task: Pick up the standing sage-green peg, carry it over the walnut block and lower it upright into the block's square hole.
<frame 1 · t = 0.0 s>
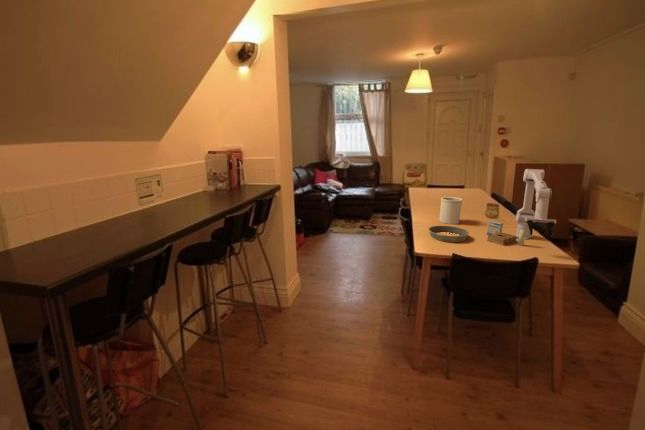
hand: (538, 235, 192), 11 cm above the table, tool pointing down, fingers open, 7 cm apart
cake pan: (447, 237, 223), on the table
medicine box: (493, 235, 227), on the table
utensil holder: (449, 222, 259), on the table
hole block: (501, 241, 215), on the table
peg: (520, 244, 208), on the table
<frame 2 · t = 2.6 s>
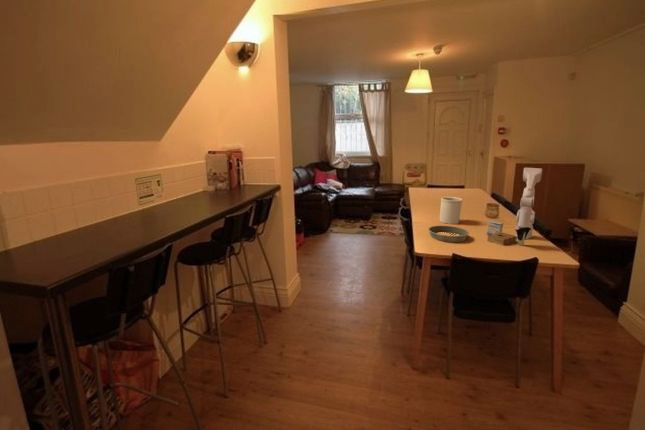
hand: (521, 239, 208), 3 cm above the table, tool pointing down, fingers closed on peg, 3 cm apart
peg: (520, 244, 208), on the table, touching gripper
everything else where it was.
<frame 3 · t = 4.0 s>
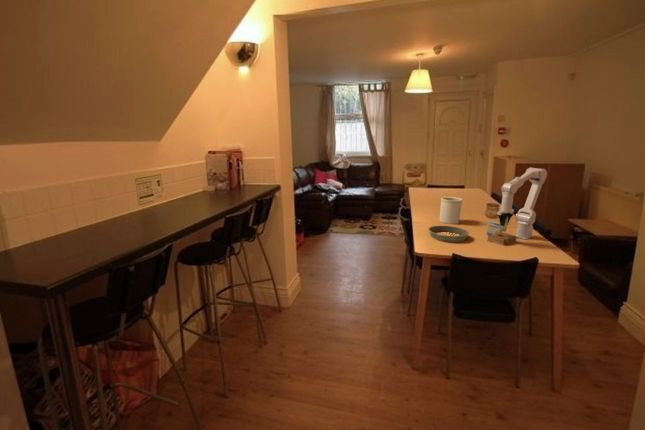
hand: (503, 225, 213), 10 cm above the table, tool pointing down, fingers closed on peg, 3 cm apart
peg: (503, 230, 213), point 7 cm above the table, touching gripper
everything else where it was.
when the fingers open (4 cm above the table, at t = 5.4 s): peg stays where it is, resting in hole block.
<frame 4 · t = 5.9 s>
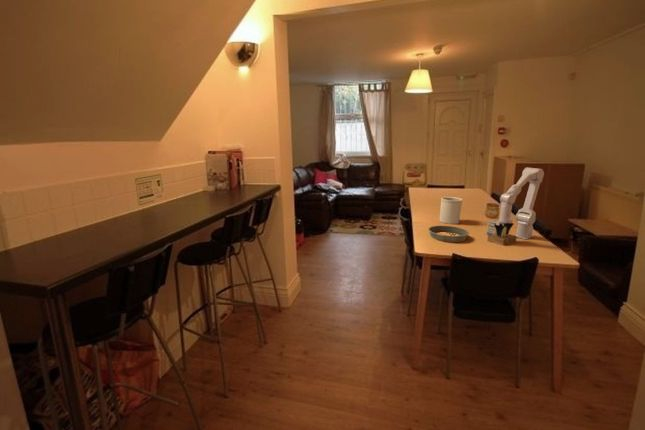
hand: (502, 235, 214), 4 cm above the table, tool pointing down, fingers open, 7 cm apart
peg: (501, 241, 215), resting in hole block
everything else where it was.
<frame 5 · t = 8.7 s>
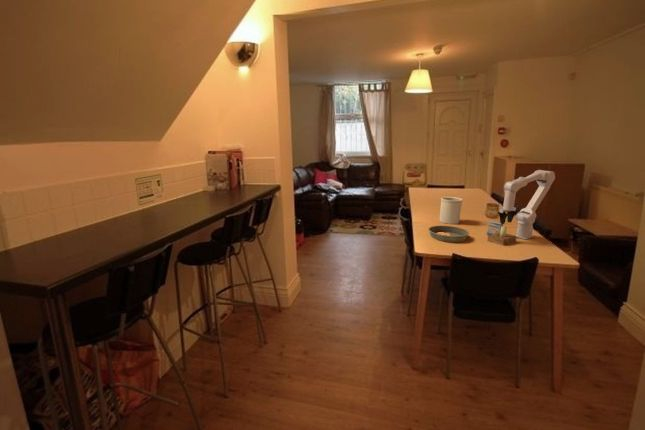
hand: (505, 222, 217), 10 cm above the table, tool pointing down, fingers open, 7 cm apart
nothing on the table moved.
at the end: peg 0.2 cm off-centre on the hole block, point 0.0 cm above the hole block's base; peg tilted 0°; the gripper is holding nothing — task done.
